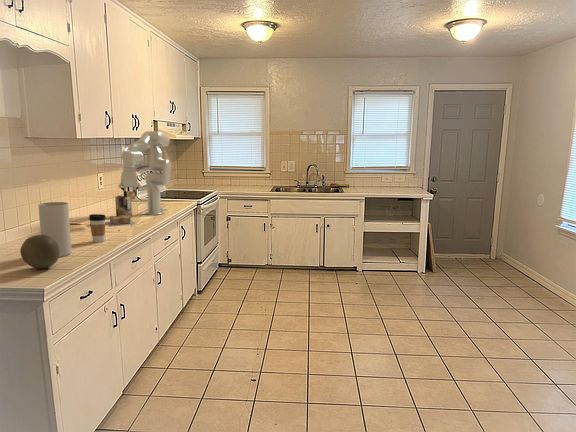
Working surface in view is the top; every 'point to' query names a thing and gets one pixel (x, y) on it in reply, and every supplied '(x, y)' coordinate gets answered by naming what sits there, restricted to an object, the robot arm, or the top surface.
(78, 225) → the top surface
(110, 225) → the board
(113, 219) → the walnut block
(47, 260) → the cantaloupe
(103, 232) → the coffee cup
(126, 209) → the coffee box
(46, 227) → the cylinder vase
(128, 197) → the oak cube
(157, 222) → the top surface
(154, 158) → the robot arm
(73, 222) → the top surface
